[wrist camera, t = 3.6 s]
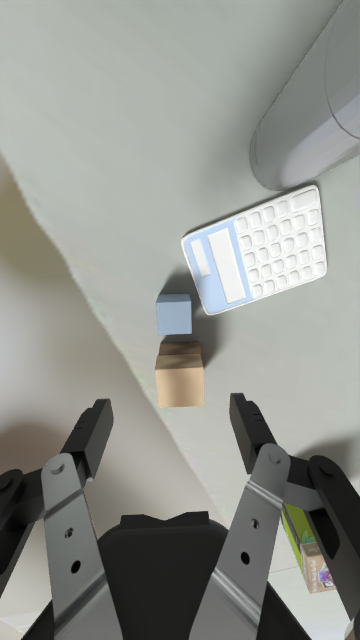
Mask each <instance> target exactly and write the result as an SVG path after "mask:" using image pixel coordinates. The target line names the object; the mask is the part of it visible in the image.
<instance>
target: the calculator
mask: <svg viewBox="0 0 360 640" xmlns="http://www.w3.org/2000/svg"><path fill="white" fill-rule="evenodd" d="M284 200H285V201H284ZM268 206H269V207H268ZM287 234H288V235H287ZM248 235H249V236H248ZM271 240H272V241H271ZM181 244H182V248H183V252H184V255H185V258H186V260H187V263H188V266H189V269H190V272H191V275H192V278H193V281H194V283H195V286H196V289H197V292H198V295H199V298H200V301H201V304H202V306H203V309H204V311H205V313H206V314H207V315H215V314H218V313H221V312H224V311H227V310H230V309H233V308H236V307H239V306H241V305H244V304H247V303H250V302H253V301H256V300H259V299H261V298H264V297H267V296H270V295H273V294H276V293H278V292H281V291H284V290H287V289H290V288H293V287H296V286H298V285H301V284H304V283H307V282H310V281H313V280H315V279H318V278H320V277H322V276H324V275H325V274H326V271H327V262H326V252H325V242H324V233H323V223H322V214H321V204H320V196H319V191H318V188H317V186H315V185H309V186H306V187H303V188H300V189H298V190H295V191H293V192H290V193H288V194H285V195H283V196H280V197H278V198H275V199H273V200H270V201H268V202H266V203H263V204H261V205H258V206H256V207H253V208H251V209H248V210H246V211H243V212H241V213H238V214H236V215H233V216H231V217H228V218H226V219H223V220H221V221H218V222H216V223H214V224H211V225H209V226H206V227H204V228H201V229H199V230H196V231H194V232H191V233H189V234H187V235H186V236H184V237H183V238H182V241H181ZM258 245H259V246H258ZM264 247H265V248H264ZM301 247H302V248H301ZM276 273H277V274H276ZM284 275H285V276H284ZM316 275H317V276H316Z"/></svg>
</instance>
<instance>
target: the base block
mask: <svg viewBox="0 0 360 640" xmlns="http://www.w3.org/2000/svg"><path fill="white" fill-rule="evenodd" d="M198 353H200V354H201V359H202V352H201V347H200V343H199V342H183V343H160V349H159V355H178V354H198Z"/></svg>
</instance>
